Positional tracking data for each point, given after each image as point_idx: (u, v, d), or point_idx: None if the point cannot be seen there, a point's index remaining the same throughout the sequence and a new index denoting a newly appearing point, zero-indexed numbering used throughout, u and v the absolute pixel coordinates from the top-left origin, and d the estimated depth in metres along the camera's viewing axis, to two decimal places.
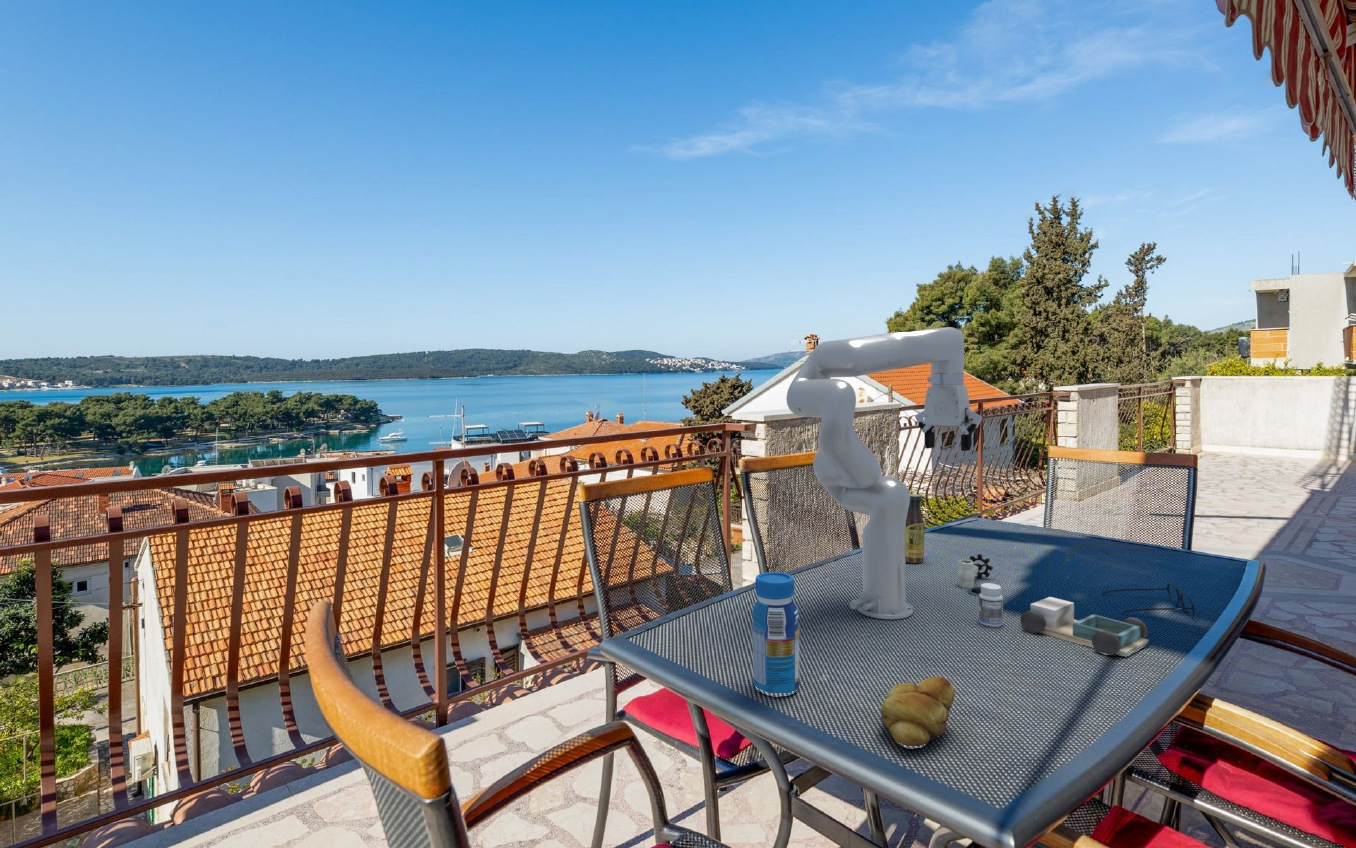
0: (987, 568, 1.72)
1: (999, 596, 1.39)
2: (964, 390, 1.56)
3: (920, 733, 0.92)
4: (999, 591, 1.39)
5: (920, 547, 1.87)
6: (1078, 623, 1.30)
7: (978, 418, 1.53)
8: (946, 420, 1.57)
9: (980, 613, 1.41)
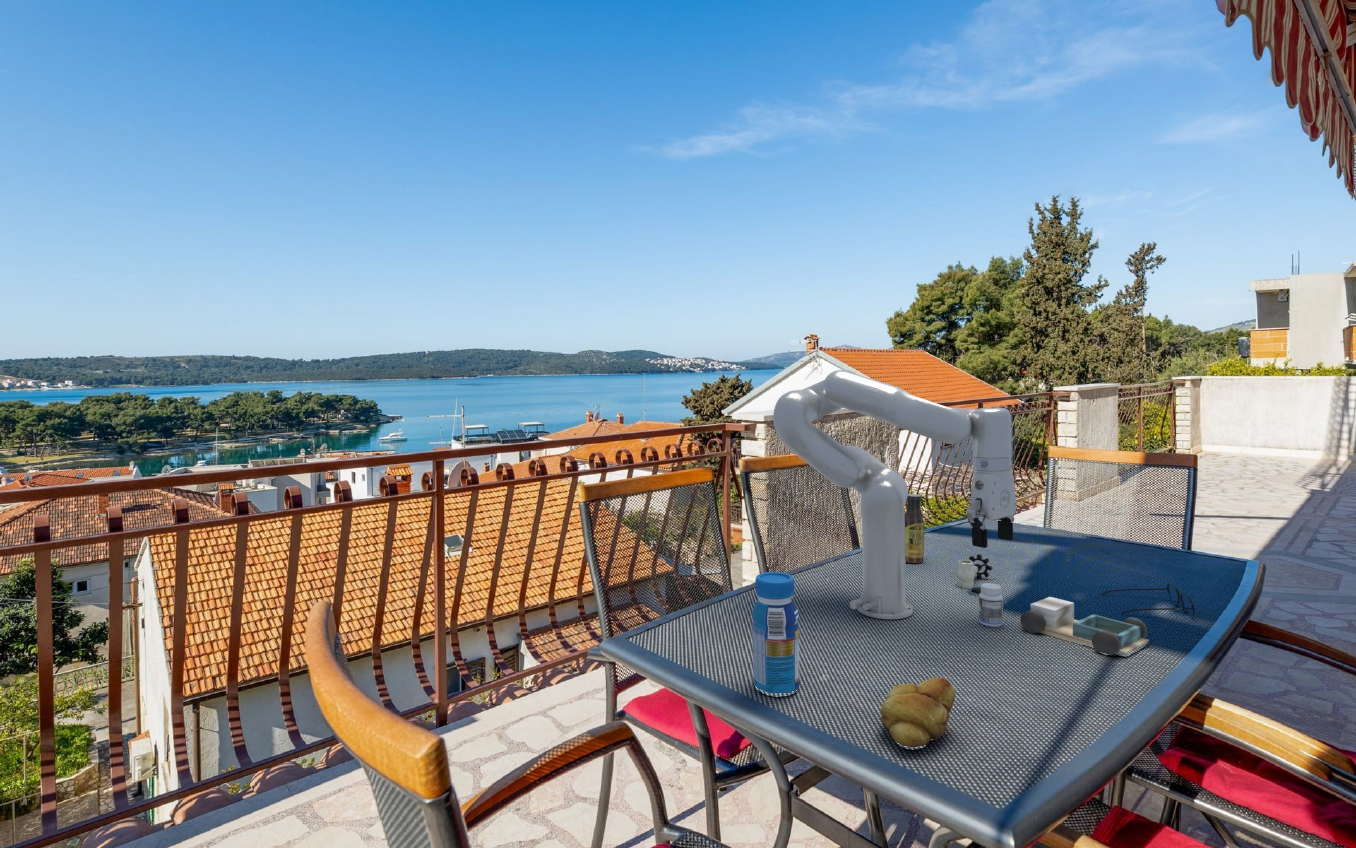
0: (986, 568, 1.71)
1: (999, 596, 1.39)
2: None
3: (919, 734, 0.92)
4: (999, 591, 1.39)
5: (920, 547, 1.87)
6: (1078, 623, 1.30)
7: (1016, 502, 1.43)
8: (1008, 510, 1.38)
9: (980, 613, 1.41)
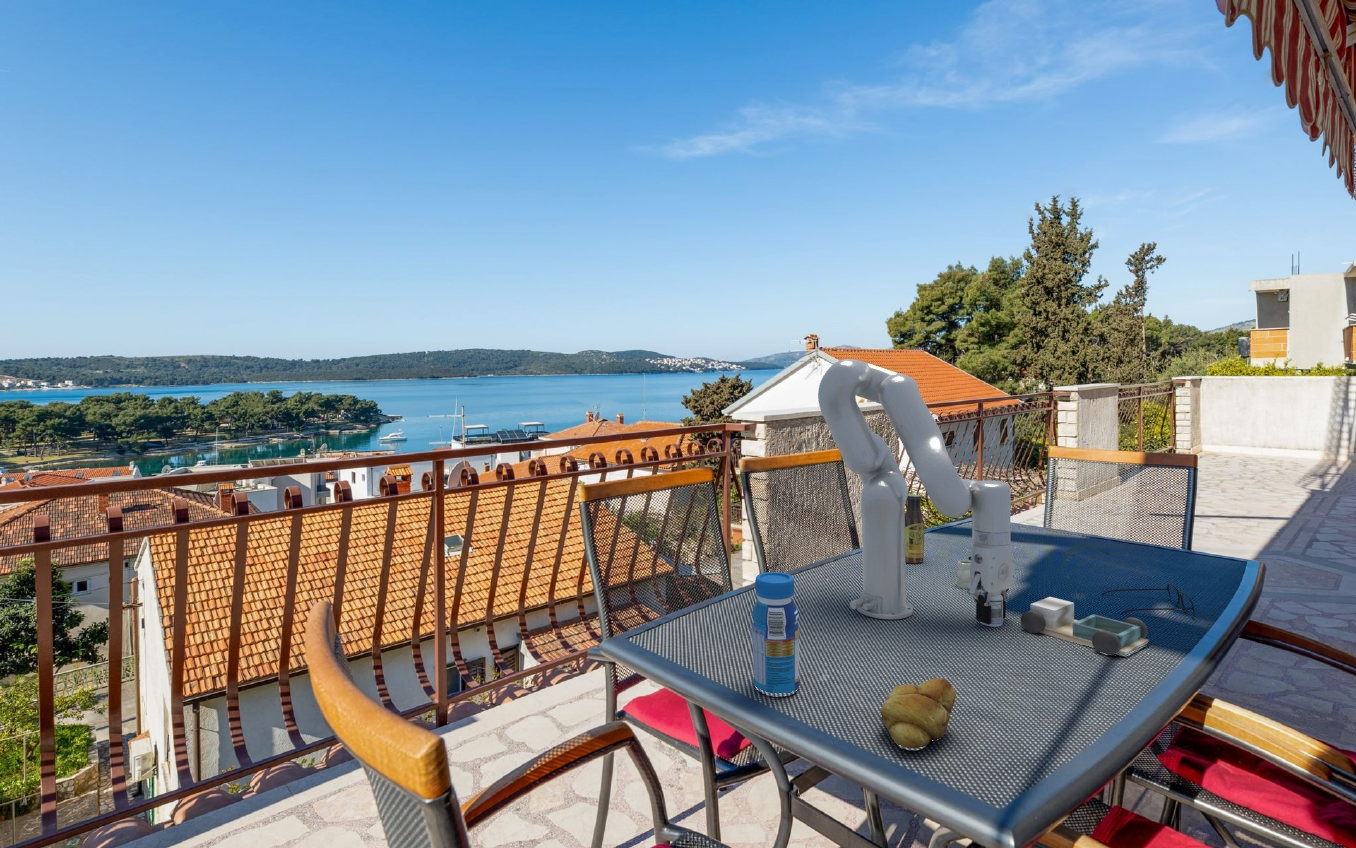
0: None
1: (999, 596, 1.39)
2: None
3: (919, 735, 0.92)
4: None
5: (920, 547, 1.87)
6: (1078, 623, 1.30)
7: None
8: (1007, 583, 1.39)
9: None
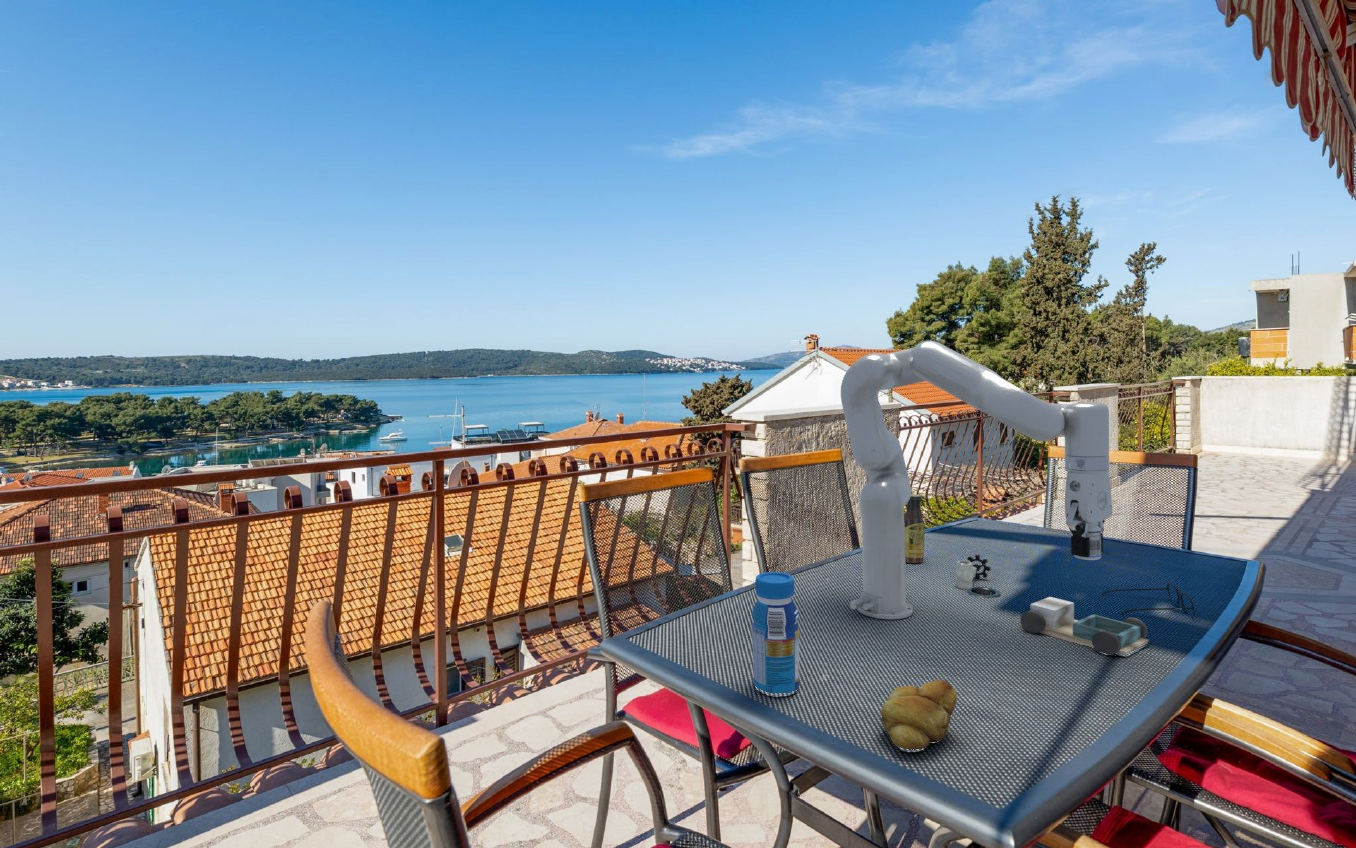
0: (985, 569, 1.71)
1: (1097, 527, 1.28)
2: None
3: (918, 736, 0.91)
4: None
5: (920, 547, 1.87)
6: (1078, 623, 1.30)
7: None
8: (1105, 513, 1.28)
9: None
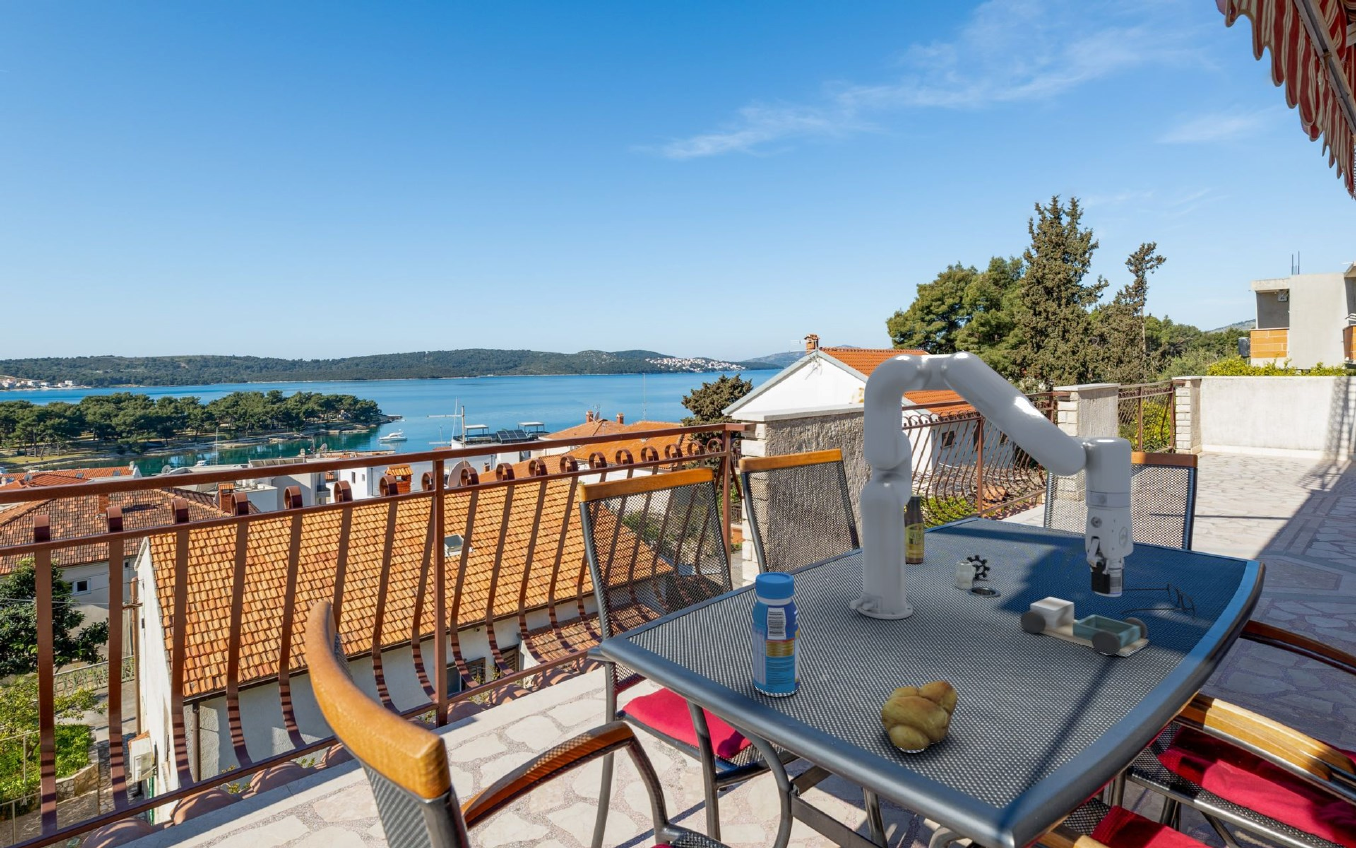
0: (984, 569, 1.71)
1: (1118, 563, 1.26)
2: None
3: (918, 737, 0.91)
4: None
5: (920, 547, 1.87)
6: (1078, 623, 1.30)
7: None
8: (1126, 549, 1.26)
9: None
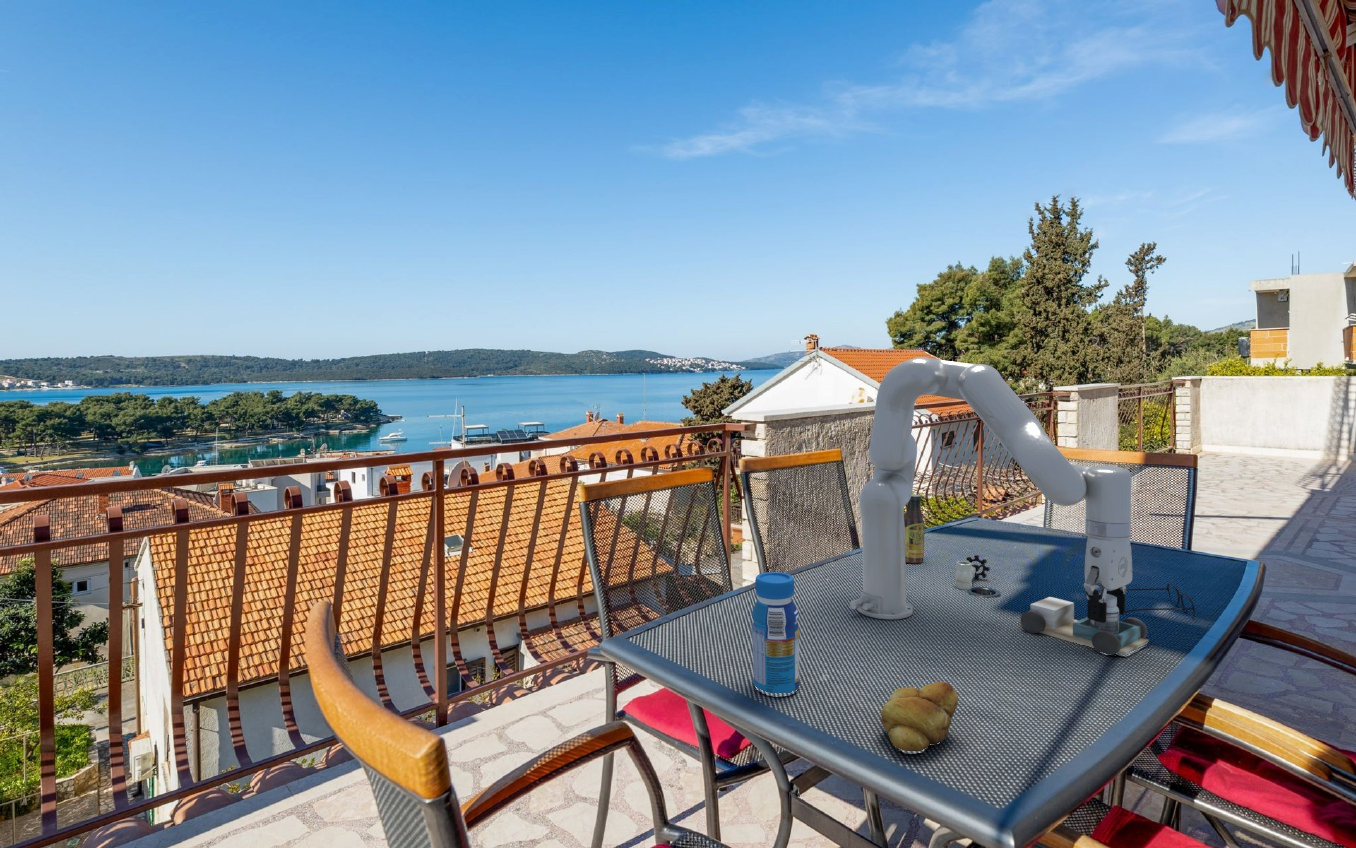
0: (984, 569, 1.71)
1: (1115, 607, 1.27)
2: None
3: (918, 738, 0.91)
4: (1115, 602, 1.27)
5: (920, 547, 1.87)
6: (1078, 623, 1.30)
7: None
8: (1126, 579, 1.27)
9: (1093, 626, 1.29)
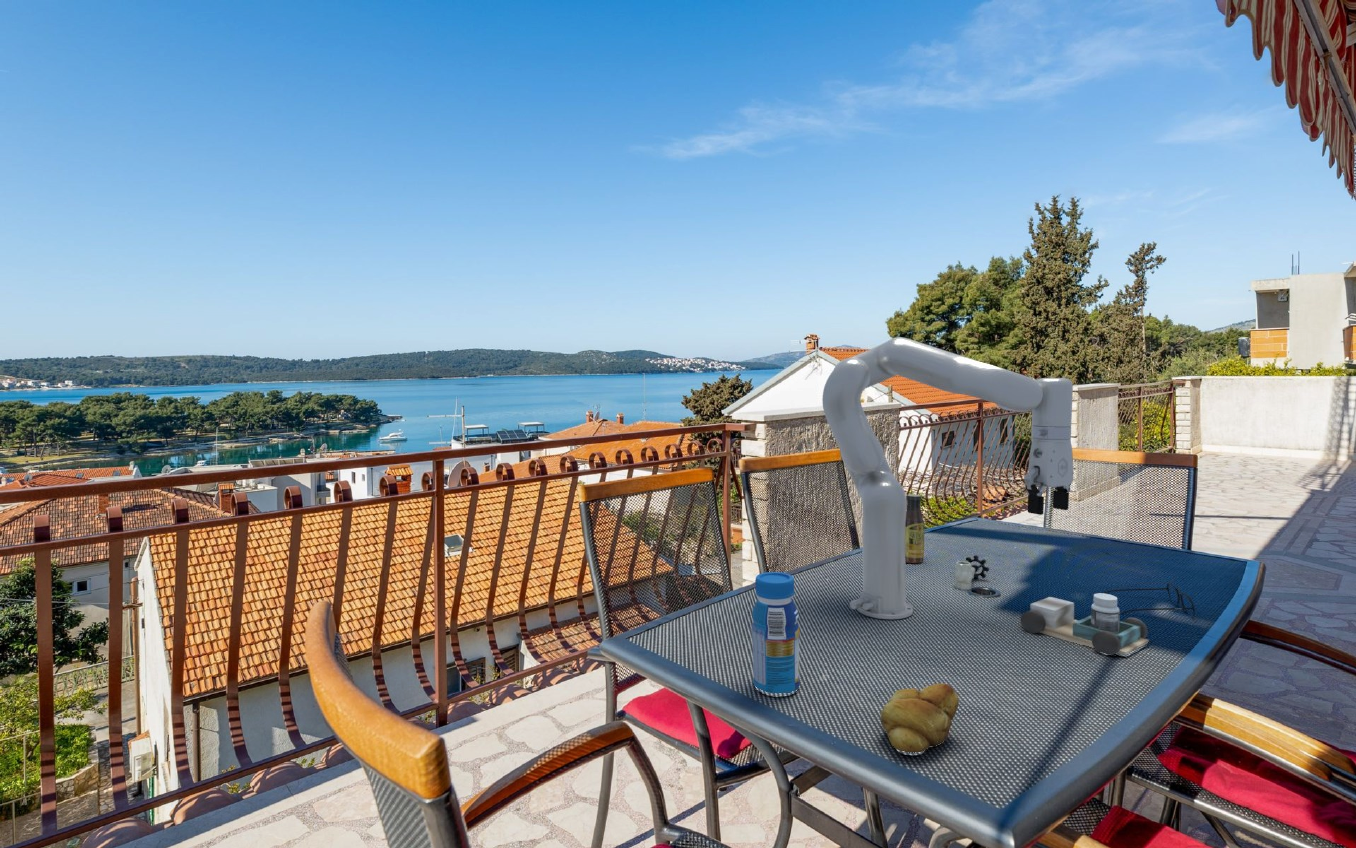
0: (983, 569, 1.71)
1: (1116, 608, 1.27)
2: None
3: (917, 740, 0.91)
4: (1116, 602, 1.27)
5: (920, 547, 1.87)
6: (1078, 623, 1.30)
7: (1072, 473, 1.45)
8: (1065, 479, 1.40)
9: (1093, 626, 1.29)
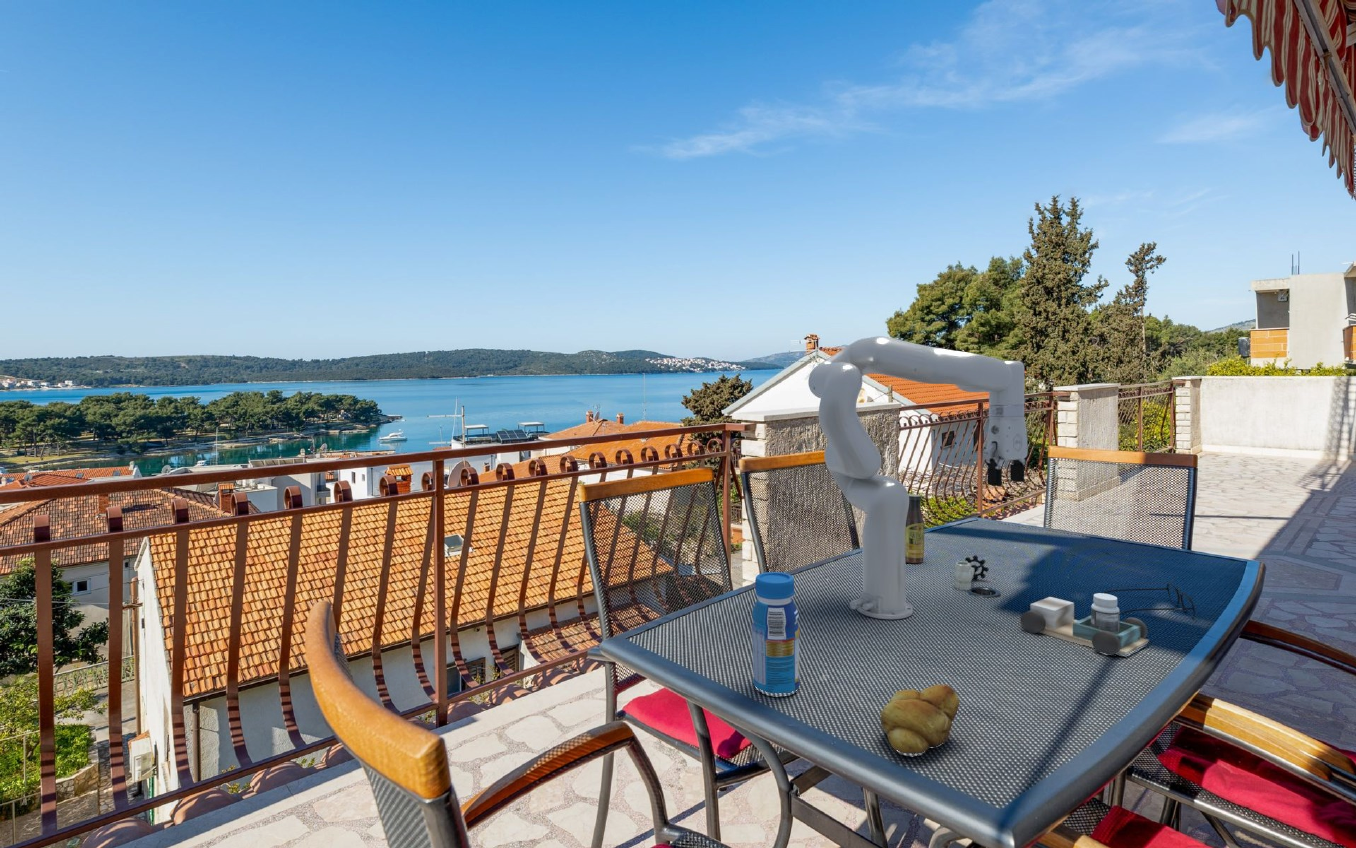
0: (983, 569, 1.70)
1: (1116, 608, 1.27)
2: None
3: (917, 741, 0.90)
4: (1116, 602, 1.27)
5: (920, 547, 1.87)
6: (1078, 623, 1.30)
7: (1027, 448, 1.59)
8: (1021, 453, 1.53)
9: (1093, 626, 1.29)
